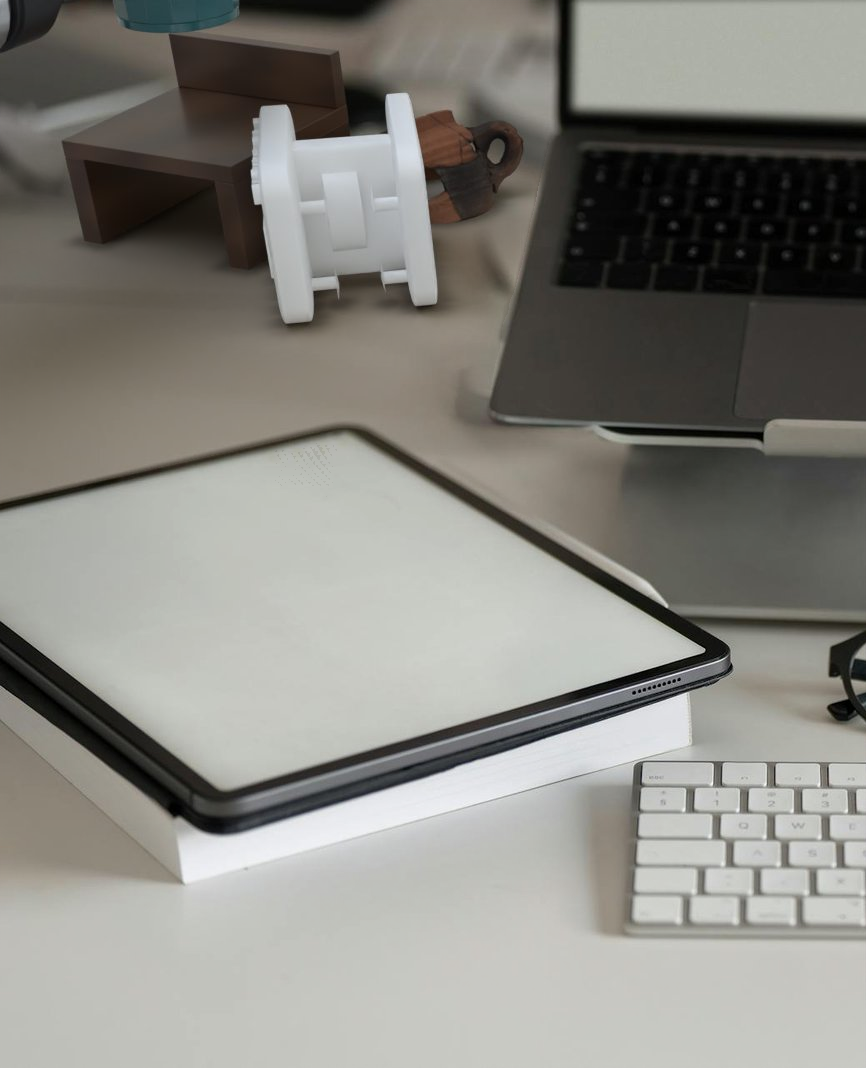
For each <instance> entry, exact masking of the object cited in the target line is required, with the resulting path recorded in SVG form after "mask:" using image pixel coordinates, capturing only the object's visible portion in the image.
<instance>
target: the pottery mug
mask: <svg viewBox="0 0 866 1068" xmlns="http://www.w3.org/2000/svg"><path fill="white" fill-rule="evenodd" d="M414 119H415V124H416V129H417V134H418V139H419V144H420V149H421V154H422V159H423V165H424V173H425V181H433V180H437V179H439V181H440V182H441V183H442V187H443V189H444V190H443V191H442V192H441V193H439V194H438V195H435V196H434V197H431V198H430V199H428V208H429V217H430V224H450V223H451V224H452V223H457V222H460V221H463V220H467V219H469V218H476V217H478V216H481V215H484V214H486V213H488V212H489V211H490V210H491V209H492V207H493V205H494V194H497V193H498V191H499V187H500V185H501V184H502V183H503V182H504V180H505V179H507V178H508V177H510V176H511V175H513V173H514V172H516V170H517V169H518V166H519V165H520V162H521V160H522V158H523V154H524V150H525V149H524V139H523V138H522V137H521V136H520V134H519V133H518V129H517V128H516V127H515V126H514V125H513V124H511V123H509V122H508V121H505V120H501V119H500V120H497V119H496V120H489V121H486V122H484V123H481V124H479V125H476V126H465V125H463V124H459V123H457V121H456V119H455V116H454V114H453V110H451V109H443V110H437V111H436V110H435V111H433V112H429V113H426V114H425V115H421V116H418V117H416V118H415V117H414ZM379 134H388V130H387V129H385V130H384V131H382V132H380V133H379ZM497 139H498V140H500V141H502V142H503V143H504V148H503V149H504V150H503V153H502V156H501V158H500V160H499V162H496V163H494V162H492V160H491V159H490V158H489V156H488V153H489V151H490V148H491V145H492V143H493V142H494V141H495V140H497ZM471 144H473V145H471Z"/></svg>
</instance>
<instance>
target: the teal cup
mask: <svg viewBox="0 0 866 1068" xmlns="http://www.w3.org/2000/svg"><path fill="white" fill-rule="evenodd" d="M112 4H113V10H114V13H115V16H116V21H117V23H118V25H119V26H121V27H122V28H124V29H127V30H130V31H135V32H141V33H149V34H169V33H179V32H189V31H194V32H198V31H202V30H208V29H212V28H215V27H219V26H223V25H225V24H228V23H230V22H232V21H234V20H236V19H237V18H238V17H239V15H240V13H241V11H240V0H112Z"/></svg>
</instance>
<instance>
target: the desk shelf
mask: <svg viewBox="0 0 866 1068" xmlns="http://www.w3.org/2000/svg"><path fill="white" fill-rule="evenodd" d="M168 39H169V43H170V49H171V54H172V55H171V56H172V59H173V65H174V66H173V67H174V71H175V76H176V82H177V86H176V87H174V88H172V89H169V90H167V91H166V92H163V93H161V94H159V95H157V96H155V97H153V98H151V99H148V100H146V101H144V102H141V103H139V104H137V105H135V106H133V107H131V108H129V109H126V110H124V111H122V112H119V113H118V114H116V115H113V116H111V117H108V118H107V119H105V120H103V121H100V122H98V123H96V124H93V125H92V126H90V127H87V128H85V129H83V130H81V131H79V132H77V133H74V134H71V135H70V136H67V137H65V138H63V139H62V140H61V146H62V149H63V153H64V158H65V161H66V162H65V163H66V167H67V171H68V176H69V180H70V184H71V189H72V194H73V197H74V201H75V206H76V210H77V215H78V218H79V223H80V228H81V232H82V235H83V237H82V238H83V240H84V242H88V243H94V244H100V245H104V244H106V243H107V242H109V241H111V240H113V239H115V238H117V237H118V236H120V235H122V234H124V233H125V232H127V231H129V230H131V229H133V228H135V227H137V226H139V225H140V224H142V223H144V222H146V221H147V220H150V219H152V218H153V217H155V216H156V215H159V214H161V213H163V212H164V211H167V210H169V209H170V208H171V207H174V206H175V205H177V204H179V203H181V202H182V201H185V200H186V199H188V198H190V197H192V196H194V195H195V194H197V193H199V192H201V191H203V190H205V189H206V188H208V187H210V186H212V185H213V184H214V187H215V191H216V197H217V203H218V209H219V214H220V220H221V225H222V226H221V227H222V232H223V236H224V237H223V238H224V241H225V242H224V243H225V248H226V253H227V259H228V264H229V267H230V268H234V269H240V270H246V271H250V270H252V269H253V268H255V267H257V266H258V265H260V264H261V263H262V262H264V261H266V260H268V254H267V248H266V242H265V236H264V231H263V210H262V204H258V205H255V203H254V198H253V192H252V177H251V170H252V167H253V166H252V160H253V153H252V150H253V142H252V137H253V134H252V131H254V124H253V118H259V115H260V109H261V107H262V106H273V105H287V106H288V108H289V110H290V113H291V116H292V120H293V125H294V130H295V137H296V141H297V140H310V139H324V138H338V137H351V130H350V129H351V128H350V122H349V113H348V106H347V100H346V91H345V85H344V77H343V71H342V64H341V63H342V62H341V56H340V54H341V53H340V50H336V49H330V48H322V47H316V46H307V45H299V44H292V43H284V42H277V41H269V40H261V39H254V38H248V37H247V38H246V37H240V36H239V37H238V36H231V35H223V34H216V33H209V32H201V31H189V32H179V33H168Z"/></svg>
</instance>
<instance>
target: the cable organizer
mask: <svg viewBox="0 0 866 1068" xmlns="http://www.w3.org/2000/svg"><path fill="white" fill-rule="evenodd" d="M384 100H385V103H384V104H385V105H384V106H385V107H384V108H385V109H384V110H385V121H386V130H388V134H380V133H378V134H366V135H353V136H351V135H350V136H351V137H338V138H324V139H310V140H297V141H296V137H295V130H294V125H293V120H292V116H291V113H290V110H289V108H288V106H287V105H273V106H262V107H261V109H260V115H259V118H253V124H254V131H252V134H253V137H252V142H253V150H252V153H253V160H252V166H253V167H252V170H251V177H252V192H253V198H254V203H255V205H258V204H262V210H263V231H264V236H265V242H266V248H267V254H268V259H267V260H268V265H269V266H268V267H269V271H270V277H271V279H273V280H274V285H275V286H274V287H275V291H276V299H277V303H278V307H279V312H280V315H281V318H282V320H283V322H284V323H285V324H286V325H287V324H296V323H297V324H299V323H309V322H312V321H313V318H314V312H315V300H314V292H315V291H316V292H317V291H327V290H336V292H337V298H338V300H340V282H339V278H338V276H347V275H357V274H367V273H368V274H369V273H380V280H381V283H382V286H383V289H384V290H386V286H385V285H392V284H402V283H403V284H404V283H407V284H408V289H409V294H410V297H411V301H412V303H413V305H414V306H415V307H422V306H431V305H436V304H437V302H438V279H437V272H436V271H437V270H436V262H435V261H436V260H435V253H434V245H433V235H432V227H431V222H430V217H429V208H428V200H429V199H428V191H427V183H426V181H427V180H426V181H425V173H424V165H423V159H422V154H421V149H420V144H419V139H418V134H417V129H416V124H415V115H414V109H413V105H412V101H411V98H410V96H409V93H408V92H399V93H387V94H386V96H385V99H384ZM384 292H385V293H386V294H387V291H384Z"/></svg>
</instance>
